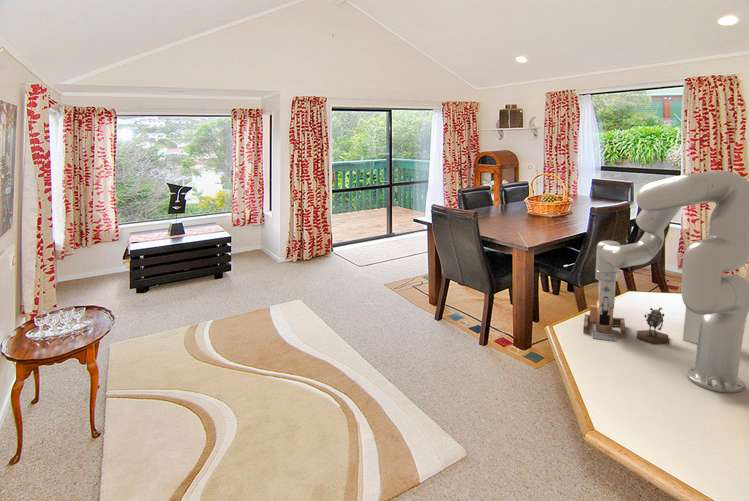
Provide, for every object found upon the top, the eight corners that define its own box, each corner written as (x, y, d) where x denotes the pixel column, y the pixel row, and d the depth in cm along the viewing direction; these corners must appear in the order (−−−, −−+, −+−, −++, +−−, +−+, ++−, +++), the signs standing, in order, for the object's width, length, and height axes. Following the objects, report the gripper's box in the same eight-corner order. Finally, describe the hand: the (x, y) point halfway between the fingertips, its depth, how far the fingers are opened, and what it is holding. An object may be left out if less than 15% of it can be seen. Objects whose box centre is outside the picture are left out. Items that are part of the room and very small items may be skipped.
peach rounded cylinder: (612, 333, 155) (614, 305, 153) (588, 331, 159) (590, 303, 156) (611, 328, 160) (613, 300, 158) (589, 325, 164) (590, 298, 161)
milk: (703, 345, 143) (710, 283, 138) (681, 339, 148) (688, 279, 142) (709, 339, 146) (717, 278, 141) (688, 334, 151) (695, 275, 146)
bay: (625, 338, 151) (625, 331, 150) (583, 333, 157) (583, 326, 157) (623, 325, 162) (624, 318, 161) (584, 321, 168) (584, 314, 167)
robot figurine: (628, 336, 153) (630, 304, 150) (643, 329, 157) (645, 298, 154) (661, 347, 143) (664, 313, 141) (676, 340, 148) (679, 307, 145)
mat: (615, 341, 149) (615, 340, 149) (592, 338, 153) (592, 338, 153) (614, 335, 154) (614, 335, 154) (592, 333, 157) (592, 332, 157)
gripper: (619, 282, 145) (616, 332, 149) (618, 269, 160) (615, 314, 164) (595, 281, 148) (592, 329, 153) (595, 268, 163) (593, 312, 167)
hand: (604, 321), depth 158 cm, fingers closed on peach rounded cylinder, 5 cm apart
